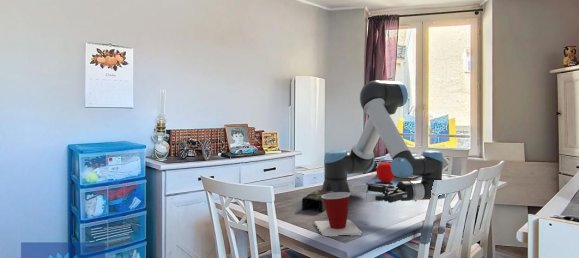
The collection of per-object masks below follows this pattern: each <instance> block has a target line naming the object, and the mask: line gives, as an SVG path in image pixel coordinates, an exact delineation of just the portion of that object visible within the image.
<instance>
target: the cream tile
mask: <svg viewBox="0 0 579 258" xmlns="http://www.w3.org/2000/svg"><path fill="white" fill-rule="evenodd" d="M314 226H315V227H316V226H317V227H316V228H317V230H318V229H319V230H318V231H319V233H320V232H321V233H320V235H321V234H322V235H323V236H329V237H339V236H338V235H351V236H360V235H359V234H362V235H363V232H362V231H361V229H359V228H358V227H357V225H356V224H355V223H353V221H352V220H351V219H347V221H346V227H344V228H340V229H335V228H331V227H330V224H329V220H315V221H314ZM322 235H321V236H322ZM323 236H322V237H323Z"/></svg>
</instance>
